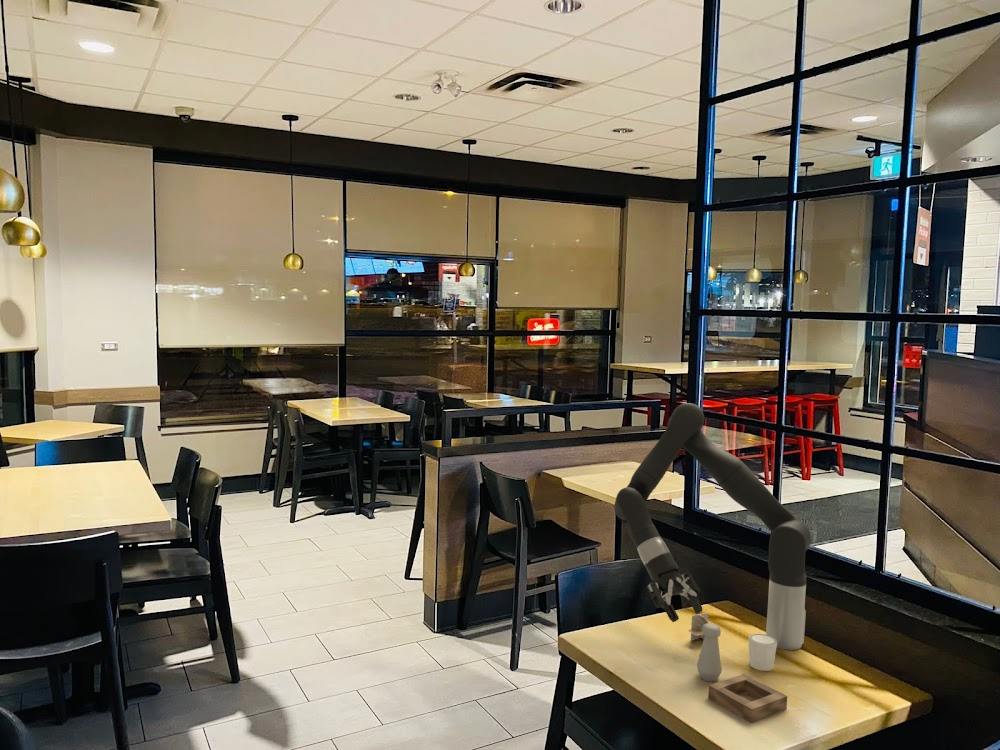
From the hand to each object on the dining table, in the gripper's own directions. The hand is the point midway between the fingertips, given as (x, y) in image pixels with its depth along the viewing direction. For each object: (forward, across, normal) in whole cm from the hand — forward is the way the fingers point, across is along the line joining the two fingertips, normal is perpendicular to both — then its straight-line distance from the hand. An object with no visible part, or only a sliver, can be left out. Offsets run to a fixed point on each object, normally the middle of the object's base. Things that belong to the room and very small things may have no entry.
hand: (687, 616), depth 187 cm
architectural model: (+5, -14, -15) cm, 21 cm away
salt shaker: (+15, +1, -2) cm, 15 cm away
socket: (+23, +4, +7) cm, 25 cm away
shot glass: (+17, -16, -1) cm, 23 cm away
